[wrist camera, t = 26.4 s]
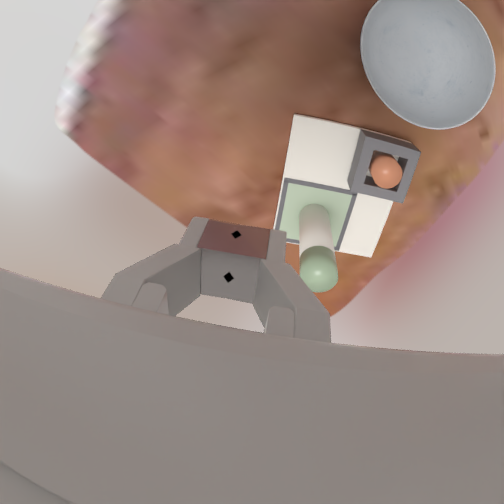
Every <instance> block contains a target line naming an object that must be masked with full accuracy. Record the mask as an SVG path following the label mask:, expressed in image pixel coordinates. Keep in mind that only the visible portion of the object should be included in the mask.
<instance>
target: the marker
mask: <svg viewBox="0 0 504 504" xmlns="http://www.w3.org/2000/svg"><path fill="white" fill-rule="evenodd" d="M299 248H300V277H301V279H302V280H303V281H304V282H305V284H306V285H307V286H308V287H309V289H310V290H311V291H312V292H325V291H328V290H330V289H331V288H333V287H334V286H335V285H336V283H337V281H338V272H337V265H336V258H335V251H334V245H333V238H332V232H331V226H330V220H329V214H328V211H327V210H326V209H325V208H324V207H323V206H321V205H319V204H310V205H307V206H305V207H304V208H303V209H302V210H301V211H300V213H299Z"/></svg>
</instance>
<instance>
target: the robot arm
mask: <svg viewBox="0 0 504 504" xmlns="http://www.w3.org/2000/svg"><path fill="white" fill-rule="evenodd" d="M286 237H287V232H286V231H281V230H273V229H271V230H270V229H265V228H259V227H252V226H245V225H240V224H236V223H230V222H225V221H219V220H214V219H209V218H202V217H196V216H195V217H193V218H192V220H191V222H190V224H189V226H188V228H187V229H186V231H185V233H184V235H183V237H182V239H181V241H180V243H179V245H178V244H173V245H171V246H169V247H167V248H165V249H163V250H161V251H159V252H157V253H155V254H153V255H152V256H149V257H147V258H146V259H144V260H141V261H139V262H137V263H135V264H134V265H132V266H130V267H128V268H126V269H124V270H122V271H120V272H118V273H116V274H115V276H114V277H113V279H112V280H111V282H110V284H109V285H108V287H107V289H106V290H105V292H104V294H103V295H102V297H101V298H97V297H93V296H90V295H86V294H83V293H79V292H75V291H72V290H68V289H65V288H62V287H58V286H55V285H52V284H48V283H45V282H42V281H38V280H35V279H32V278H29V277H26V276H23V275H20V274H17V273H14V272H11V271H8V270H5V269H2V268H0V504H504V354H470V353H444V352H426V351H411V350H410V351H409V350H398V349H386V348H375V347H374V348H373V347H363V346H354V345H345V344H337V343H331V331H330V313H329V312H328V311H327V310H326V308H325V307H324V306H323V305H322V303H321V302H320V301H319V300H318V298H317V297H316V296H315V295H314V293H313V292H312V291H311V290H310V289H309V287H308V286H307V285H306V284H305V282H304V281H303V280H302V279H301V277H300V276H299V275H298V274H297V273H296V271H295V270H294V269H293V268H292V266H291V265H290V264H288V263H285V253H286ZM200 294H203V295H209V296H215V297H221V298H228V299H232V300H237V301H242V302H247V303H252V304H253V306H254V308H255V310H256V312H257V314H258V316H259V318H260V320H261V322H262V324H263V326H264V328H265V329H264V333H260V332H254V331H248V330H243V329H237V328H232V327H226V326H221V325H215V324H210V323H205V322H200V321H195V320H190V319H185V318H181V317H176V315H177V314H178V313H179V312H181V311H182V310H183V309H184V308H186V307H187V306H188V305H189V304H191V303H192V302H193V301H194V300H195V299H197V298H198V297H199V296H200Z"/></svg>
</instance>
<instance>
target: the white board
mask: <svg viewBox="0 0 504 504" xmlns="http://www.w3.org/2000/svg"><path fill="white" fill-rule="evenodd" d="M375 150H377V151H380V152H384V153H388V154H392V156H393V157H394V158H395V160H396V161H397V162H398V164H399V165H400V166H401V169H402V178H401V180H400V182H399V183H398V184H397V185H396V186H395V187H392V188H388V189H385V188H381V187H379V186H378V185H377V184H376V183H375V182H374V180H373V177H372V175H371V173H370V172H369V170H368V168H369V164H370V161H371V158H372V154H373V151H375ZM420 154H421V152H420V151H419V150H418V149H417V148H416V147H415V146H414V145H413V144H412V143H411V142H410V141H406V140H403V139H400V138H397V137H393V136H390V135H386V134H383V133H379V132H375V131H371V130H368V129H364V128H360V127H356V126H352V125H348V124H343V123H339V122H334V121H330V120H325V119H320V118H316V117H311V116H305V115H300V114H294V116H293V122H292V128H291V134H290V139H289V145H288V151H287V156H286V162H285V168H284V173H283V179H282V184H281V190H280V195H279V201H278V206H277V212H276V217H275V222H274V228H273V230H281V231H286V232H287V237H286V242H287V243H293V244H299V213H300V211H301V210H302V209H303V208H304V207H305V206H307V205H310V204H319V205H321V206H323V207H324V208H325V209H326V210H327V211H328V214H329V220H330V226H331V232H332V238H333V245H334V251H338V252H344V253H349V254H355V255H361V256H366V257H371V256H372V254H373V252H374V249H375V247H376V245H377V242H378V240H379V237H380V235H381V232H382V230H383V227H384V225H385V222H386V219H387V217H388V214H389V212H390V209H391V206H392V204H393V201H395V202H399V203H403V202H404V199H405V196H406V194H407V191H408V188H409V185H410V183H411V180H412V177H413V174H414V171H415V168H416V166H417V163H418V160H419V157H420Z"/></svg>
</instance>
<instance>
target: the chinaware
mask: <svg viewBox="0 0 504 504" xmlns="http://www.w3.org/2000/svg"><path fill="white" fill-rule="evenodd" d="M360 51H361V59H362V63H363V67H364V70H365V73H366V75H367V78H368V80H369V82H370V84H371V86H372V88H373V89H374V91H375V92H376V94H377V95H378V97H379V98H380V99H381V100H382V101H383V103H384V104H385V105H386V106H387V107H388V108H389V109H390V110H392V111H393V112H394V113H395V114H396V115H398V116H399V117H401V118H402V119H404V120H406V121H408V122H410V123H412V124H414V125H417V126H420V127H423V128H428V129H437V130H442V129H450V128H454V127H458V126H460V125H463V124H465V123H467V122H468V121H470V120H471V119H473V118H474V117H475V116H476V115H477V114H478V113H479V112H480V111H481V110H482V109H483V107H484V106H485V105H486V103H487V101H488V99H489V97H490V95H491V93H492V90H493V86H494V81H495V70H496V68H495V57H494V52H493V48H492V45H491V42H490V39H489V37H488V35H487V32H486V31H485V29H484V27H483V25H482V24H481V22H480V21H479V20H478V18H477V17H476V16H475V15H474V13H473V12H472V11H471V10H470V9H469V8H468V7H467V6H466V5H464V4H463V3H462V2H461V1H459V0H378V1H377V2H376V3H375V4H374V6H373V7H372V8H371V10H370V11H369V13H368V15H367V17H366V19H365V21H364V24H363V27H362V31H361V38H360Z"/></svg>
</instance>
